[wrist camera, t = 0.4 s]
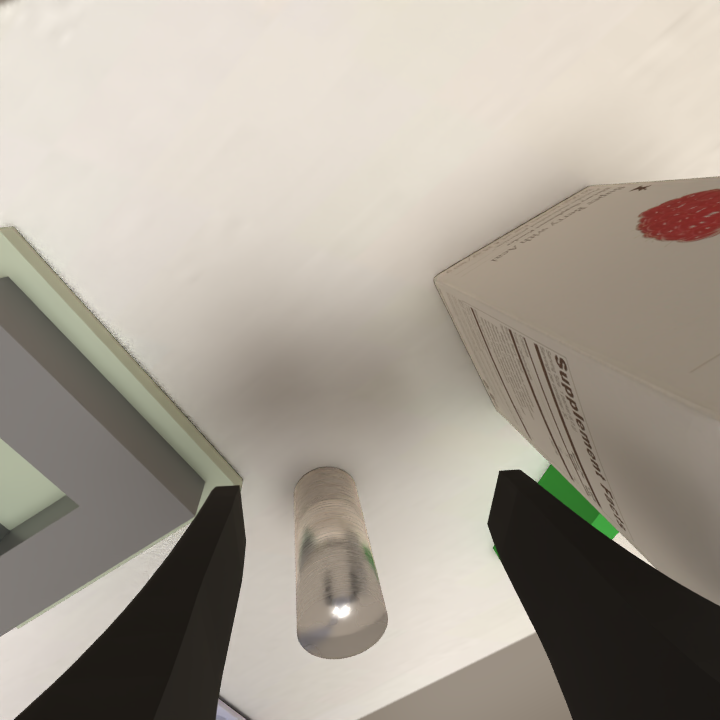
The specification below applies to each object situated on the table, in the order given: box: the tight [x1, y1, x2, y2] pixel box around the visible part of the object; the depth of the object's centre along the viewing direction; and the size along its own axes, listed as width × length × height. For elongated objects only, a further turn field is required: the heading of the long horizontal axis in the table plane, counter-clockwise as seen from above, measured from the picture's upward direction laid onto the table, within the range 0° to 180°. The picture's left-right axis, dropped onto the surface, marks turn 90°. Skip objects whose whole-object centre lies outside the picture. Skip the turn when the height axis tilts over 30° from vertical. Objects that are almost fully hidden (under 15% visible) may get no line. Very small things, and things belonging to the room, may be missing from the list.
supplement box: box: [434, 176, 720, 606], centre depth 15 cm, size 9×9×15 cm
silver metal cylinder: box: [294, 467, 388, 659], centre depth 20 cm, size 4×4×8 cm
